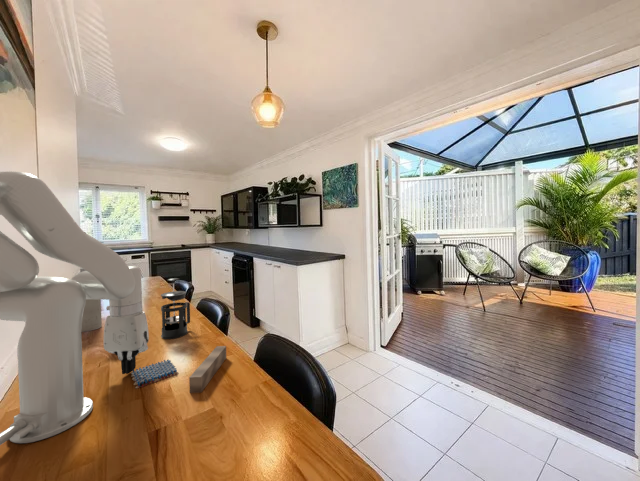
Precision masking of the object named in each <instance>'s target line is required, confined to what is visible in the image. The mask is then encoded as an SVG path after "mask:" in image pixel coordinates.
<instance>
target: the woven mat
mask: <svg viewBox="0 0 640 481" xmlns="http://www.w3.org/2000/svg"><path fill="white" fill-rule="evenodd" d="M130 374H131V375H130V378H131V377H132V379H131V380H133V381H134V383H133V385H134V386H135V389H139V388H144V387H145V386H148V385H150V384H154V383H157V382H159V381H161V380H164V379H168V377H169V378H170V377H173V376H177V375H179V371H178V369H177V367H176V366H175V365H174V363H173V362H172V360H171V359H170V360H169V359H167V360H166V359H164V360H163V361H160V362H159V361H157V362H155V363H152V364H150V365H146V366H144V367H142V368H141V367H139V368H138V369H137V368H135V369H134V370H133V371H131V372H130Z"/></svg>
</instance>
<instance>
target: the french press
mask: <svg viewBox="0 0 640 481" xmlns="http://www.w3.org/2000/svg"><path fill="white" fill-rule="evenodd" d="M178 280H180V278H177V277H174V278H173V277H172V278H168V279H167V281H171V283H172V291H168V292H164V293H161V294H160V297H161V299H162V300H165V299H167V300H169V301H171V303H167V304H164V305H161V306H160V308H161V309H160V311H161V322H162V324H161V325H162V326H161V336H160V337H161V338H162V339H164V340H174V339H179V338H181V337H184V336H186V335H187V334H188V332H189V331H188V324H190V323H191V305H190V304H191V303H190V302H189V301H188V302H187V301H186V302H178V301H180V300H184V299H185V298H186V294H187V291H184V290H175V283H176V281H178ZM175 301H177V302H175ZM176 306H177V307H176ZM178 306H179V307H178ZM171 307H172V308H171ZM172 312H173V316H171V313H172ZM176 312H178V315H175V314H176Z"/></svg>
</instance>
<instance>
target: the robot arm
mask: <svg viewBox="0 0 640 481" xmlns="http://www.w3.org/2000/svg"><path fill="white" fill-rule="evenodd" d="M0 216H2V217H4V219H5V220H6V221H7V223H9V224H10V225H11V226H12V228H14V229H15V230H16V231H17V232H18V233H19V234H20V235H21V236H22V237H23V238H24V239H25V240H26V242H28V243H29V244H30V245H31V247H32V248H33V249H34V250H35V251H36V252H38V253H39V254H42V255H44V256H47V257H50V258H51V259H54V260H58V261H61V262H65V263H68V264H71V265H74V266H76V267H78V268H80V269H81V268H82V269H84V270H86V271H83V272H80V271H79V272H80V273H79V272H78V273H77V274H75V275H73V277H72V278H68V277H63V276H62V277H61V276H60V277H59V276H38V275H39V273H40V264H39V263H38V260H37V258H36V257H35V256H34V255H32V254H31V253H30V252H29V251H28V250H26V249H25V248H23V246H21V245H19V244H18V243H17V242H16V241H14V240H13V239H12V238H10V237H9V236H7V234H5V233H3V232H2V231H1V230H0V321H6V322H7V321H8V322H9V321H10V322H25V324H24V327H23V330H22V332H21V334H20V337H19V339H18V342H17V343H18V344H17V351H16V353H17V369H18V370H17V371H18V396H19V413H18V414H17V415H14V416H13V423H11V424H10V425H9V426H8V428H6V429H5V430H3V431H1V432H0V446H1V445H4V443H6V442H8V441H10V442H12V443H14V444H28V443H29V444H30V443H34V442H38V441H42V440H44V439H48V438H51V437H53V436H57V435H58V434H61V433H62V432H65V431H67V430H68V429H71V428H72V427H75V426H76V425H77V424H79V423H80V422H82V420H84V419H85V418H86V417H88V416H89V414H91V412H92V410H93V407H94V402H93V400H92V399H91V398H90V397H86V396H85V397H84V373H83V370H84V369H83V341H82V332H81V325H82V316H83V311H84V307H85V302H86V299H96V300H98V299H101V300H107V301H109V305H107V306H106V311H109V315H106V319H105V323H104V329H103V349H104V350H105V351H106V352H108V353H109V354H114V355H116V357H117V358H118V360H119V361H120V362H121V364H120V365H121V374H122V375H125V374H126V375H128V374H131V372H133V370H134V371H135V370H136V366H137V365H136V364H137V361H136V357H137V356H138V354H140V353H144V352H146V351H148V349H149V346H148V343H149V340H150V339H149V338H150V335H149V334H150V333H149V325H148V319H147V315H146V312H145V311H143V293H142V292H143V289H142V288H143V287H142V271H141V268H140V267H139V266H136V265H134V266H133V265H128V264H127V262H125V260H124V259H123V257H121V255H119V254H118V253H117V252H116V251H115V250H113V249H112V248H110V247H109V246H107V245H105V244H104V243H102V242H101V241H100V240H99V239H96V238H95V237H93V236H91V235H89V234H88V233H86V232H85V231H84V230H83V229H82V228H81V227H80V225H78V223H77V222H76V220H75V219H74V218H73V217H72V216H71V214H70V213H69V212H68V210H67V209H66V208H65V207H64V205H63V204H62V203H61V201H60V200H59V199H58V197H57V196H56V195H55V194H54V193H53V191H52V190H51V189H50V187H49V186H48V185H47V184H46V183H45V182H44V181H43V180H42V179H41V178H40V177H37V176H36V175H33V174H31V173H28V172H22V171H0Z"/></svg>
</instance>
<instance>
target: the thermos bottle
mask: <svg viewBox="0 0 640 481" xmlns="http://www.w3.org/2000/svg"><path fill="white" fill-rule="evenodd" d="M83 271H86V270H84V269H82V268H80V269H79V272H78V273H80V272H83ZM101 300H102V299H98V300H96V299H86V302H85V307H84V311H83V316H82V325H81V333H83V332H90V331H95V330H98V329H100V328H101V327H102V326H103V324H102V304H101V302H102V301H101Z"/></svg>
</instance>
